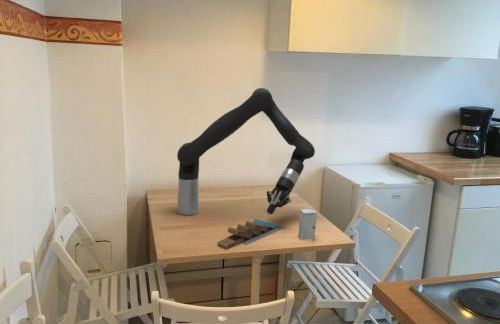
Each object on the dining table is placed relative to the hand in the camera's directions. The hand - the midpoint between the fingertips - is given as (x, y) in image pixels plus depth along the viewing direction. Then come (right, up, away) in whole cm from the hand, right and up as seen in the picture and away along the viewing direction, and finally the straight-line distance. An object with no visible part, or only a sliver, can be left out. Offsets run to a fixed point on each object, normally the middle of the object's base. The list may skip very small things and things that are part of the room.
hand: (269, 213), depth 184 cm
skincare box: (+15, -10, -6) cm, 19 cm away
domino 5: (+1, -6, +3) cm, 6 cm away
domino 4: (-2, -6, -1) cm, 7 cm away
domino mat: (-5, -8, -3) cm, 10 cm away
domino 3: (-6, -7, -4) cm, 10 cm away
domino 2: (-9, -8, -8) cm, 15 cm away
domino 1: (-13, -9, -12) cm, 19 cm away
